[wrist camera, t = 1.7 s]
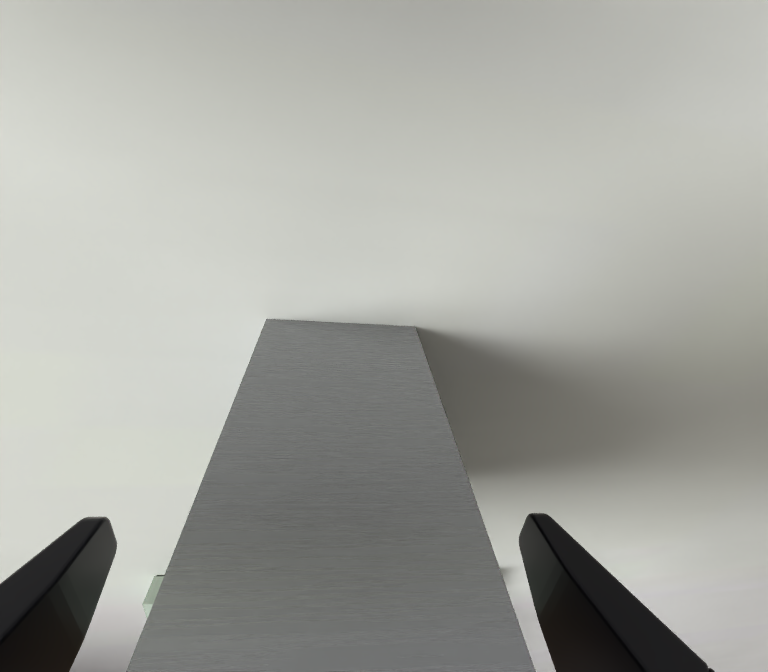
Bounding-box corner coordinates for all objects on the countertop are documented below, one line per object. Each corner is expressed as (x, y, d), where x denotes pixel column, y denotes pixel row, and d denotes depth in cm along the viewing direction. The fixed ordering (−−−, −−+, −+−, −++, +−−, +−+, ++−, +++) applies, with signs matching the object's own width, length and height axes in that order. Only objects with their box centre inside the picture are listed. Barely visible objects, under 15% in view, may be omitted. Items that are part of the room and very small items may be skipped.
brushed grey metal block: (273, 480, 13) (193, 883, 6) (266, 318, 10) (108, 716, 3) (391, 480, 14) (441, 854, 7) (415, 326, 11) (540, 687, 4)
